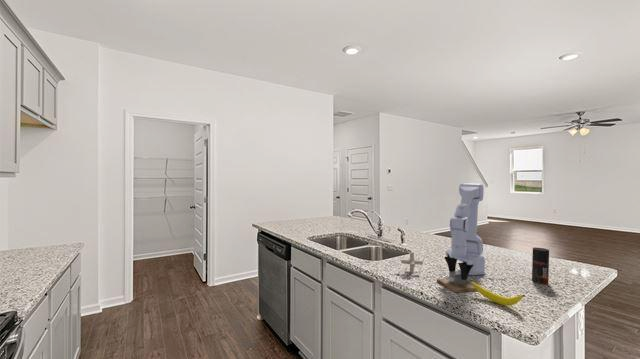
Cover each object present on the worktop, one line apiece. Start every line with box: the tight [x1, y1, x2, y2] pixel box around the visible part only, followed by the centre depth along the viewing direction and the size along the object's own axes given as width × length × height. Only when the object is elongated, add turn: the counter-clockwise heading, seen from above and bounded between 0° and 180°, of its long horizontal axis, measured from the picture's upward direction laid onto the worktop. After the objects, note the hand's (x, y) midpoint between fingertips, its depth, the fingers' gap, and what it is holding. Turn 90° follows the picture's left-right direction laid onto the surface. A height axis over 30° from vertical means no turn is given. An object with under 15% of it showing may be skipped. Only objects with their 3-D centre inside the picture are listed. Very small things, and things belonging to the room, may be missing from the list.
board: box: [436, 277, 478, 293], centre depth 123 cm, size 12×12×1 cm
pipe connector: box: [400, 251, 424, 274], centre depth 140 cm, size 10×10×10 cm
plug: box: [445, 270, 469, 285], centre depth 123 cm, size 9×4×4 cm, turn 102°
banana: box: [470, 281, 526, 307], centre depth 107 cm, size 3×19×6 cm, turn 32°
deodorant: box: [531, 246, 550, 286], centre depth 129 cm, size 6×6×15 cm
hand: (458, 276), depth 123 cm, fingers open, 7 cm apart
